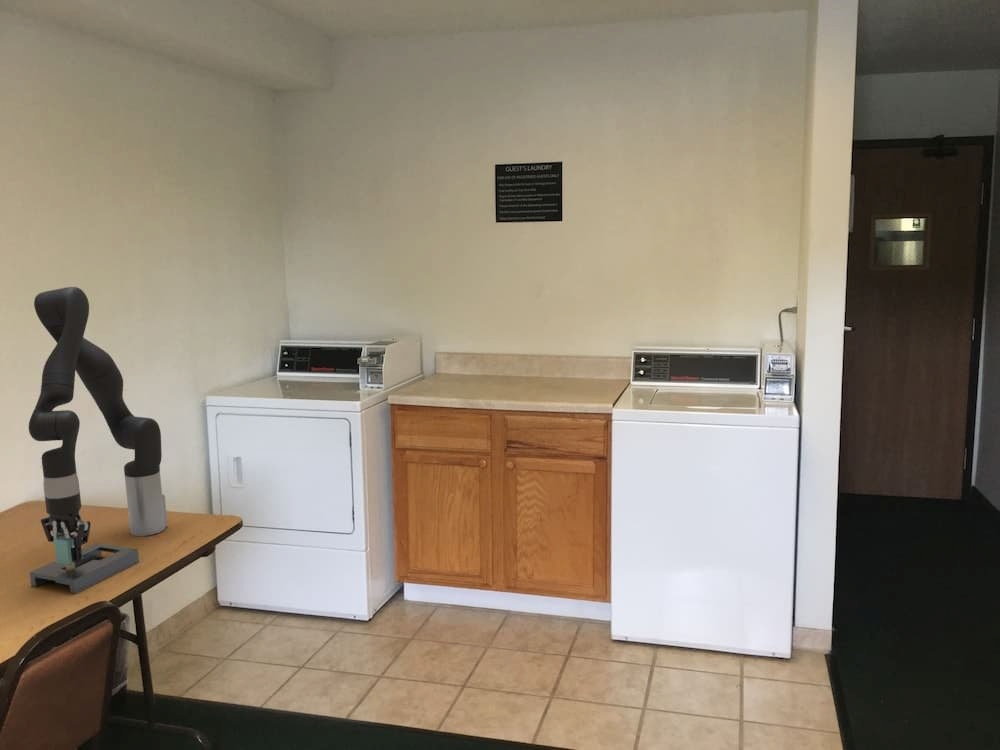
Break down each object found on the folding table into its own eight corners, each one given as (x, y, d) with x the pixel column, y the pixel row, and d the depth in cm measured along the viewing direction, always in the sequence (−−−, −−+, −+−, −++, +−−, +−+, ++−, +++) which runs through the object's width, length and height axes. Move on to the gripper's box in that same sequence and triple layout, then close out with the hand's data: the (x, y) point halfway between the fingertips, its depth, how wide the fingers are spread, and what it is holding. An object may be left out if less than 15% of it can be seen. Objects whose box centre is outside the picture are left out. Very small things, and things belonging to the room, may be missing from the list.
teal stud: (72, 574, 204) (67, 532, 202) (87, 577, 203) (83, 534, 201) (55, 582, 200) (50, 539, 198) (71, 585, 198) (66, 542, 196)
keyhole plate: (97, 555, 217) (96, 542, 216) (139, 561, 212) (137, 549, 212) (31, 586, 199) (29, 572, 198) (75, 594, 194) (73, 580, 193)
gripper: (97, 490, 198) (104, 557, 201) (53, 484, 203) (60, 550, 206) (71, 500, 191) (79, 569, 194) (26, 494, 196) (34, 561, 199)
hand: (69, 559), depth 200 cm, fingers closed on teal stud, 4 cm apart
